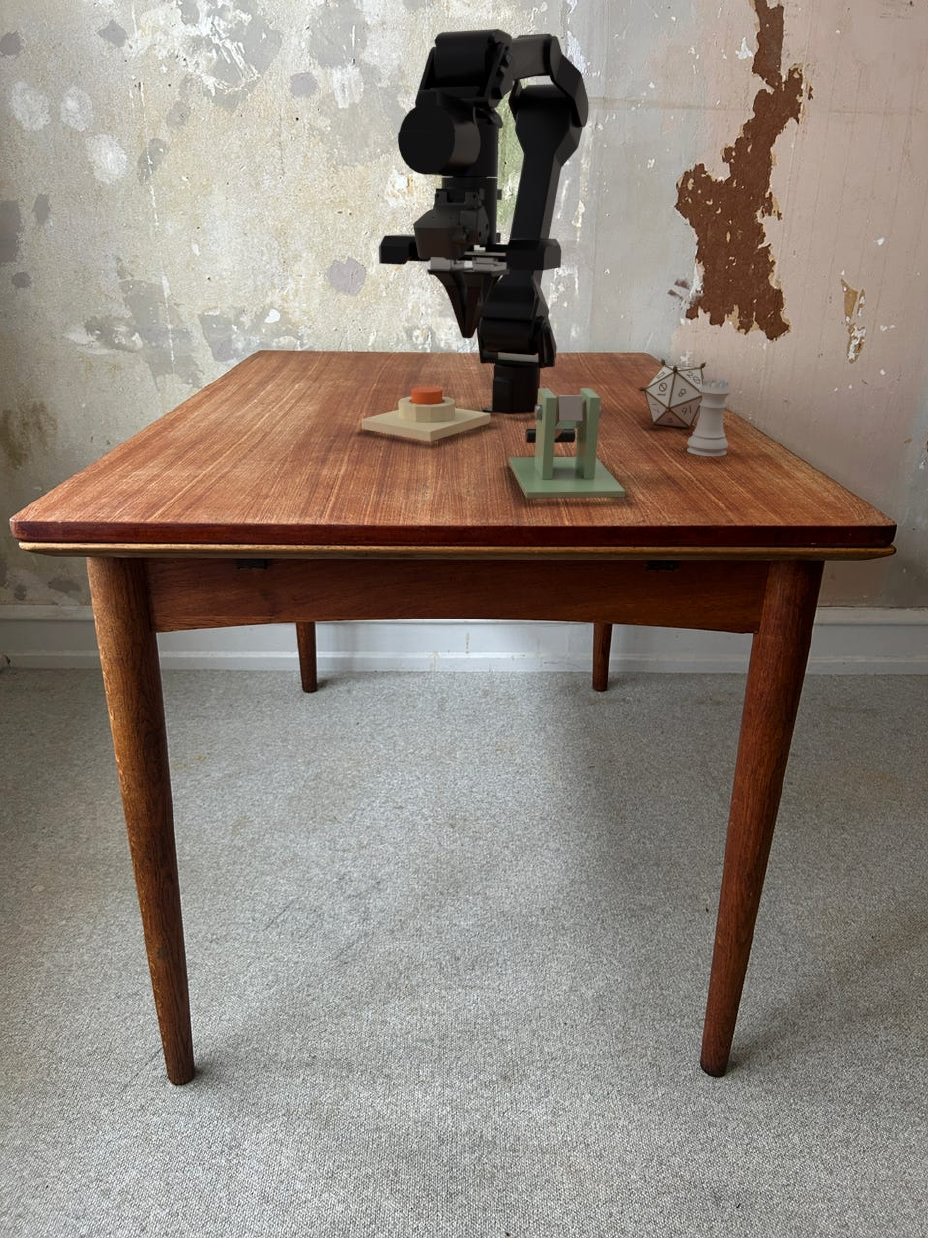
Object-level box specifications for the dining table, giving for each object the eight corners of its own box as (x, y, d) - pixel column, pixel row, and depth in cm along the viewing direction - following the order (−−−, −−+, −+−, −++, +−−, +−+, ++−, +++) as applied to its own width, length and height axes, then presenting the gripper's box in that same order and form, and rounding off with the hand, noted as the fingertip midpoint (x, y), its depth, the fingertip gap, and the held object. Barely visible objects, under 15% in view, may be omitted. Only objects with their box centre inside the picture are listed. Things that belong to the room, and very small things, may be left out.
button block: (424, 416, 112) (424, 388, 111) (490, 427, 107) (490, 398, 106) (361, 433, 103) (360, 403, 102) (430, 446, 98) (430, 415, 97)
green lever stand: (508, 468, 91) (511, 380, 87) (595, 467, 91) (602, 380, 88) (526, 504, 80) (530, 406, 76) (624, 503, 80) (633, 405, 77)
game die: (682, 457, 110) (739, 392, 107) (670, 447, 102) (731, 376, 99) (629, 413, 113) (683, 348, 110) (613, 400, 105) (671, 329, 102)
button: (424, 400, 106) (424, 385, 106) (448, 403, 104) (448, 388, 104) (405, 404, 104) (405, 389, 103) (430, 408, 102) (429, 393, 101)
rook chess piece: (704, 463, 93) (714, 386, 90) (676, 454, 97) (685, 379, 94) (736, 459, 95) (747, 383, 92) (707, 449, 99) (717, 376, 95)
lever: (525, 449, 92) (524, 426, 92) (573, 448, 92) (572, 425, 92) (544, 421, 81) (543, 395, 81) (598, 420, 81) (597, 394, 81)
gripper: (348, 175, 87) (355, 341, 93) (526, 175, 80) (520, 354, 86) (402, 178, 96) (405, 328, 103) (567, 178, 89) (558, 340, 96)
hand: (467, 337), depth 97 cm, fingers closed
